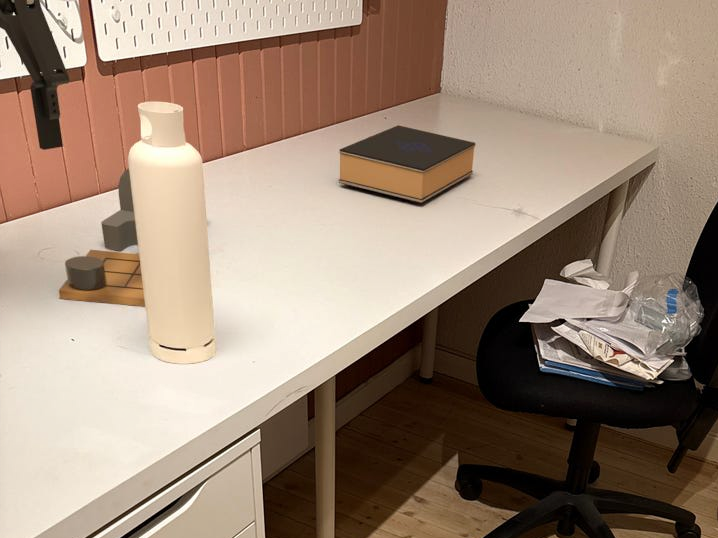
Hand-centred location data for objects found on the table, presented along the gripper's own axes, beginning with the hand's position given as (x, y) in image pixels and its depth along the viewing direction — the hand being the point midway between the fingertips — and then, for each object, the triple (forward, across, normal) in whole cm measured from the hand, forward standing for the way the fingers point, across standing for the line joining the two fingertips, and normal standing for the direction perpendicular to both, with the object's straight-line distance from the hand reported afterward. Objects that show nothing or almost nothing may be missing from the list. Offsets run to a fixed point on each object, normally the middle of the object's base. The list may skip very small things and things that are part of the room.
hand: (13, 133), depth 116 cm
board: (+20, -4, -13) cm, 24 cm away
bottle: (+20, -24, -2) cm, 32 cm away
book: (+20, +1, -86) cm, 88 cm away
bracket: (+20, +8, -29) cm, 36 cm away
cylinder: (+19, -2, -6) cm, 20 cm away
